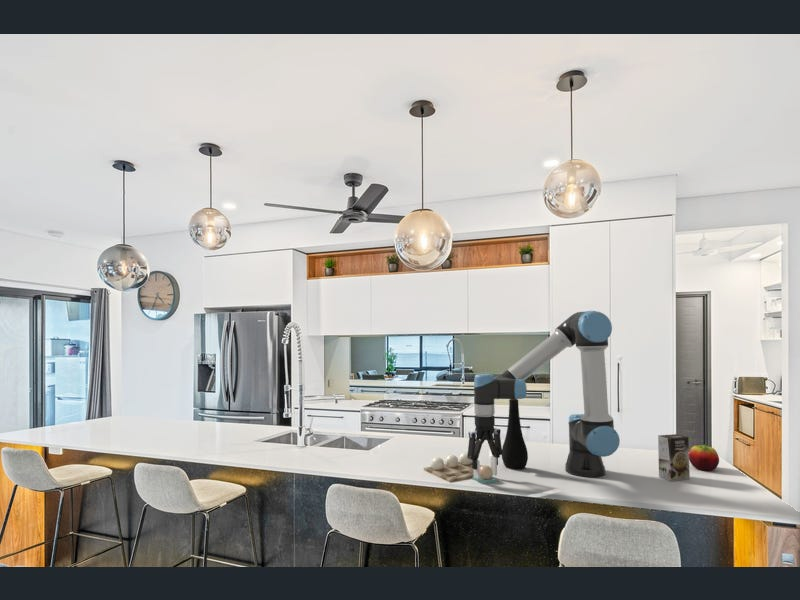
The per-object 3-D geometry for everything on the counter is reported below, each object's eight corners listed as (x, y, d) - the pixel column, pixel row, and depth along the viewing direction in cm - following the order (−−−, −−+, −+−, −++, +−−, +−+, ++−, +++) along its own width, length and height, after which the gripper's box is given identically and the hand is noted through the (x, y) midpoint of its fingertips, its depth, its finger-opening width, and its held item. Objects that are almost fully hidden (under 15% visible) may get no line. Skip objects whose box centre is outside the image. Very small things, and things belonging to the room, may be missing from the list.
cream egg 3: (475, 466, 205) (474, 453, 205) (464, 468, 202) (464, 454, 202) (466, 463, 209) (466, 450, 210) (456, 465, 207) (456, 452, 207)
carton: (467, 465, 211) (467, 460, 211) (495, 476, 195) (495, 470, 196) (423, 472, 200) (423, 467, 200) (449, 485, 185) (449, 479, 185)
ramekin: (498, 484, 185) (498, 478, 185) (484, 487, 182) (484, 481, 182) (486, 479, 191) (486, 474, 192) (472, 482, 188) (472, 476, 188)
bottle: (496, 467, 208) (495, 395, 209) (518, 464, 211) (517, 393, 213) (511, 474, 198) (509, 398, 199) (533, 471, 201) (532, 397, 203)
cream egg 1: (447, 471, 198) (446, 457, 198) (435, 473, 195) (435, 459, 195) (439, 468, 203) (439, 454, 203) (428, 470, 200) (427, 456, 200)
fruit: (719, 467, 205) (718, 443, 206) (720, 474, 196) (719, 448, 197) (689, 464, 211) (688, 440, 211) (688, 470, 201) (688, 445, 202)
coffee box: (671, 481, 187) (670, 438, 188) (658, 476, 194) (657, 434, 194) (690, 479, 190) (689, 436, 191) (677, 474, 196) (675, 433, 197)
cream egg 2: (461, 469, 201) (461, 455, 202) (450, 471, 199) (450, 457, 199) (453, 465, 206) (453, 452, 206) (442, 467, 203) (442, 454, 204)
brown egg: (495, 481, 186) (495, 466, 186) (484, 483, 183) (484, 468, 183) (486, 477, 190) (486, 462, 191) (475, 479, 188) (474, 464, 188)
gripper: (498, 411, 196) (499, 469, 195) (456, 415, 186) (457, 477, 185) (511, 413, 190) (512, 474, 189) (468, 419, 180) (469, 483, 179)
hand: (485, 476), depth 187 cm, fingers open, 8 cm apart
